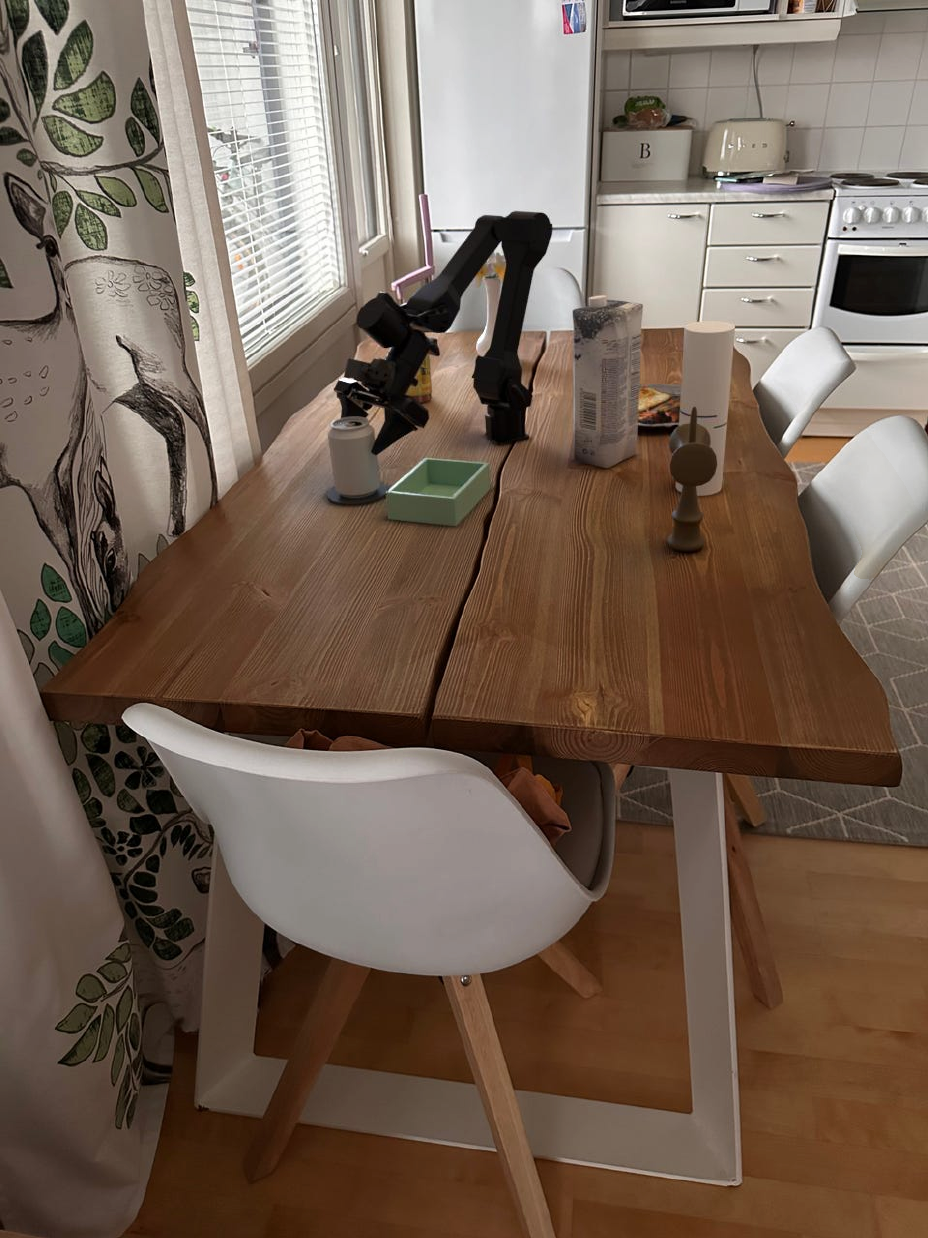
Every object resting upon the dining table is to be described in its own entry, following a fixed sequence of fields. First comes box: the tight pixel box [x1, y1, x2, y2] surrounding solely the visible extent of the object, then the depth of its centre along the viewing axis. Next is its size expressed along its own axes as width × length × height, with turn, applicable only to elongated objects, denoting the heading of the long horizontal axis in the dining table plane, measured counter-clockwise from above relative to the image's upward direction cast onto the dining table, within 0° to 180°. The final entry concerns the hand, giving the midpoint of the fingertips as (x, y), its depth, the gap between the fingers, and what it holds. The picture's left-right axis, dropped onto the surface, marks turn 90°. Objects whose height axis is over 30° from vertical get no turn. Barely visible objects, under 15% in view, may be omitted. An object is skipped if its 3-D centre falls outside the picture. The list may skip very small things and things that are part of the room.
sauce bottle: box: [400, 302, 433, 404], centre depth 193 cm, size 6×6×20 cm
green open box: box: [385, 457, 492, 527], centre depth 147 cm, size 15×11×4 cm
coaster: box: [326, 482, 389, 507], centre depth 154 cm, size 10×10×1 cm
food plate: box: [638, 383, 681, 430], centre depth 179 cm, size 25×23×4 cm
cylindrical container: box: [675, 320, 736, 497], centre depth 141 cm, size 7×7×25 cm
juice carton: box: [572, 294, 644, 469], centre depth 154 cm, size 9×10×27 cm
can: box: [327, 416, 381, 498], centre depth 151 cm, size 8×8×12 cm
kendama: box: [667, 406, 717, 552], centre depth 124 cm, size 6×10×20 cm, turn 171°
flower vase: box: [473, 251, 506, 356], centre depth 216 cm, size 13×18×25 cm
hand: (356, 447), depth 150 cm, fingers open, 9 cm apart
